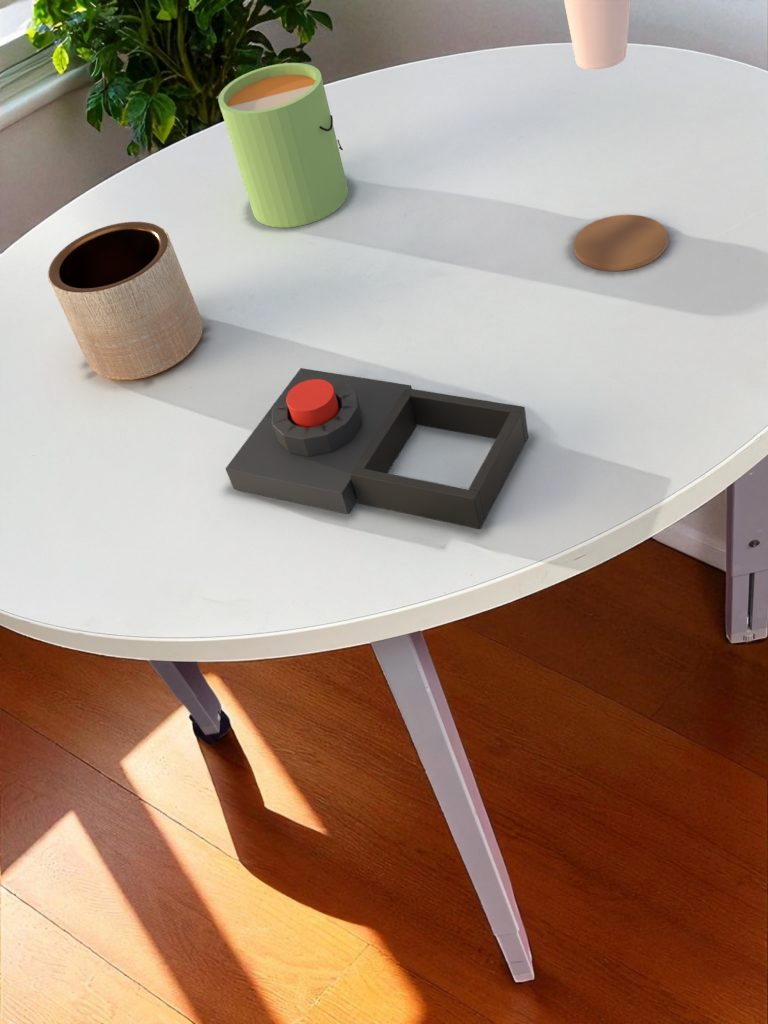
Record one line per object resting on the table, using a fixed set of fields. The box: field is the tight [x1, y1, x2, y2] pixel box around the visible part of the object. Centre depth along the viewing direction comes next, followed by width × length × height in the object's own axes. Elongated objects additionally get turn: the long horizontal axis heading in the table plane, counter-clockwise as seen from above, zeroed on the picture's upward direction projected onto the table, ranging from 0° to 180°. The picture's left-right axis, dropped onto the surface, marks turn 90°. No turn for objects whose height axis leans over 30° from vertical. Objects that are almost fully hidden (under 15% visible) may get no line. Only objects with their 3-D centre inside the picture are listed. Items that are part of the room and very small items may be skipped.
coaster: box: [573, 214, 669, 272], centre depth 93 cm, size 8×8×1 cm
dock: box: [350, 388, 529, 530], centre depth 77 cm, size 10×10×3 cm
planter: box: [47, 221, 204, 381], centre depth 93 cm, size 11×11×10 cm
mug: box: [217, 62, 349, 228], centre depth 107 cm, size 13×10×12 cm
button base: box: [225, 367, 413, 515], centre depth 81 cm, size 10×12×4 cm
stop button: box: [286, 379, 339, 428], centre depth 79 cm, size 4×4×2 cm
